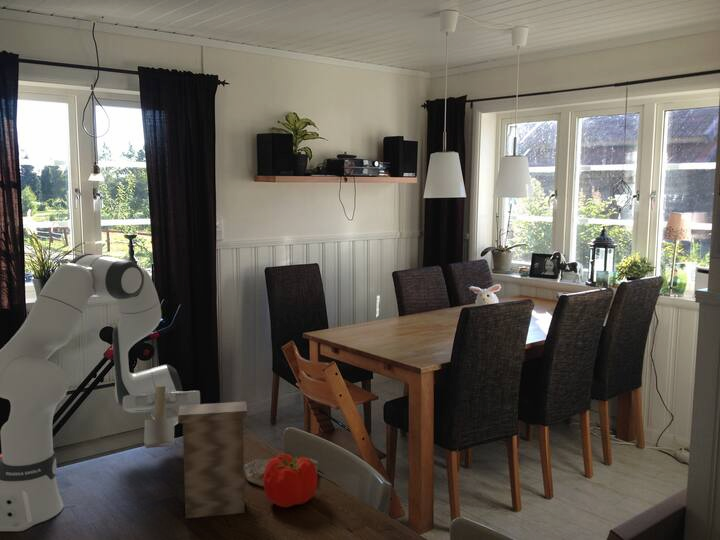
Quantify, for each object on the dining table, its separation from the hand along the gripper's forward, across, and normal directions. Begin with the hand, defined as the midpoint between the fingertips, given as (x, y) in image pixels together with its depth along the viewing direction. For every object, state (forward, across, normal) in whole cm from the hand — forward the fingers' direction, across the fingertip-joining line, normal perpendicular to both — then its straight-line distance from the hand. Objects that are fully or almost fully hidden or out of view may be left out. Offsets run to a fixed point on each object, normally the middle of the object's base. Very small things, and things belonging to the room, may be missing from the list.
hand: (159, 395), depth 174 cm
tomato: (+2, +33, +30) cm, 44 cm away
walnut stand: (+3, +14, +30) cm, 33 cm away
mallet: (-3, 0, +5) cm, 6 cm away
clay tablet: (-11, +31, +23) cm, 40 cm away
